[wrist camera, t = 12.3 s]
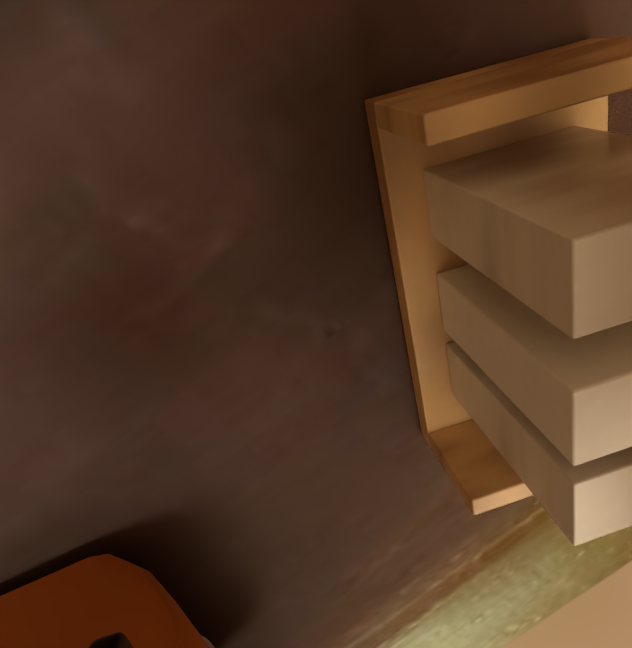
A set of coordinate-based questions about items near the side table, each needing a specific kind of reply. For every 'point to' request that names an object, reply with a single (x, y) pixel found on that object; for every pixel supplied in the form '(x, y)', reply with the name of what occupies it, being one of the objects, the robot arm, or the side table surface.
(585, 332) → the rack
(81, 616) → the alarm clock
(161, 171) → the side table surface
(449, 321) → the tan flat block
